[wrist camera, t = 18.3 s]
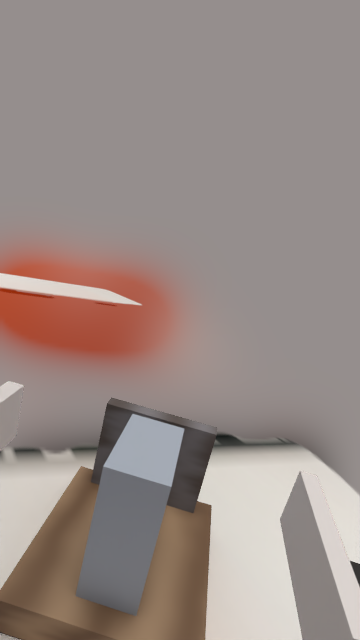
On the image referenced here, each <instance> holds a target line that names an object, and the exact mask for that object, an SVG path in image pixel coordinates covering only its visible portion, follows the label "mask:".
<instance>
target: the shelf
mask: <svg viewBox="0 0 360 640" xmlns="http://www.w3.org/2000/svg"><path fill="white" fill-rule="evenodd" d="M132 414H135V415H139V416H142V417H146V418H149V419H153V420H156V421H160V422H163V423H167V424H170V425H174V426H177V427H181V428H184V433H183V437H182V442H181V446H180V451H179V455H178V459H177V464H176V468H175V473H174V477H173V482H172V486H171V490H170V494H169V497H168V501H167V505H166V508H165V512H164V516H163V519H162V523H161V527H160V530H159V534H158V538H157V541H156V545H155V549H154V552H153V556H152V560H151V563H150V567H149V571H148V574H147V578H146V582H145V586H144V589H143V593H142V597H141V600H140V604H139V608H138V611H137V615H136V616H134V615H131V614H128V613H125V612H122V611H119V610H116V609H113V608H110V607H107V606H104V605H101V604H98V603H95V602H92V601H89V600H86V599H83V598H80V597H77V596H76V591H77V586H78V582H79V577H80V572H81V568H82V563H83V558H84V554H85V549H86V544H87V540H88V535H89V531H90V526H91V521H92V517H93V512H94V507H95V503H96V498H97V493H98V489H99V484H100V479H101V475H102V470H103V466H104V464H105V462H106V461H107V459H108V457H109V455H110V453H111V452H112V450H113V448H114V446H115V444H116V443H117V441H118V439H119V437H120V436H121V434H122V432H123V430H124V428H125V427H126V425H127V423H128V421H129V419H130V418H131V416H132ZM216 435H217V427H213V426H210V425H206V424H202V423H199V422H195V421H192V420H189V419H185V418H182V417H178V416H175V415H171V414H167V413H164V412H160V411H157V410H153V409H149V408H146V407H143V406H139V405H136V404H132V403H129V402H125V401H121V400H118V399H114V398H111V399H110V400H109V402H108V403H107V407H106V411H105V416H104V421H103V426H102V431H101V435H100V440H99V445H98V450H97V455H96V459H95V464H94V469H93V470H92V469H88V468H85V467H82V466H81V467H80V469H79V470H78V472H77V473H76V475H75V477H74V478H73V480H72V481H71V483H70V484H69V486H68V487H67V489H66V490H65V492H64V493H63V495H62V496H61V498H60V500H59V501H58V503H57V504H56V506H55V507H54V509H53V510H52V512H51V513H50V515H49V516H48V518H47V519H46V521H45V522H44V524H43V526H42V527H41V529H40V530H39V532H38V533H37V535H36V536H35V538H34V539H33V541H32V542H31V544H30V545H29V547H28V549H27V550H26V552H25V553H24V555H23V556H22V558H21V559H20V561H19V562H18V564H17V565H16V567H15V568H14V570H13V571H12V573H11V575H10V576H9V578H8V579H7V581H6V582H5V584H4V585H3V587H2V588H1V590H0V632H1V633H4V634H7V635H10V636H13V637H16V638H19V639H22V640H205V629H206V608H207V588H208V567H209V546H210V525H211V505H208V504H205V503H201V502H198V501H197V499H198V496H199V492H200V489H201V486H202V482H203V479H204V475H205V472H206V469H207V465H208V462H209V459H210V455H211V452H212V448H213V445H214V442H215V438H216Z"/></svg>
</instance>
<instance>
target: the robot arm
mask: <svg viewBox="0 0 360 640" xmlns="http://www.w3.org/2000/svg"><path fill="white" fill-rule="evenodd" d="M23 390H24V385H21V384H18V383H14V382H11V381H8V382H7V383H5V384H3V385H2V386H1V387H0V451H1V450H2V449H3V448H4V447H5V446H6V445H7V444H8V443H9V442H10V441H11V440H12V439H13V438H15V437H16V436H17V430H18V423H19V416H20V410H21V403H22V396H23ZM280 522H281V527H282V532H283V538H284V543H285V548H286V554H287V559H288V564H289V569H290V575H291V580H292V585H293V591H294V596H295V601H296V607H297V612H298V617H299V622H300V628H301V633H302V638H303V640H360V564H358V563H355V562H352V561H349V558H348V555H347V553H346V550H345V547H344V545H343V542H342V539H341V537H340V534H339V532H338V529H337V526H336V524H335V521H334V518H333V516H332V513H331V511H330V508H329V505H328V503H327V500H326V497H325V495H324V492H323V489H322V487H321V484H320V482H319V479H318V476H317V475H313V474H310V473H307V472H304V471H300V472H299V475H298V477H297V479H296V482H295V484H294V487H293V489H292V492H291V494H290V496H289V499H288V501H287V504H286V506H285V509H284V511H283V513H282V516H281V518H280Z"/></svg>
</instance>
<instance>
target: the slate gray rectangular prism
mask: <svg viewBox="0 0 360 640" xmlns="http://www.w3.org/2000/svg"><path fill="white" fill-rule="evenodd" d="M183 433H184V428H181V427H177V426H174V425H170V424H167V423H163V422H160V421H156V420H153V419H149V418H146V417H142V416H139V415H135V414H132V416H131V418H130V419H129V421H128V423H127V425H126V427H125V428H124V430H123V432H122V434H121V436H120V437H119V439H118V441H117V443H116V444H115V446H114V448H113V450H112V452H111V453H110V455H109V457H108V459H107V461H106V462H105V464H104V466H103V470H102V475H101V479H100V484H99V489H98V493H97V498H96V503H95V507H94V512H93V517H92V521H91V526H90V531H89V535H88V540H87V544H86V549H85V554H84V558H83V563H82V568H81V572H80V577H79V582H78V586H77V591H76V596H77V597H80V598H83V599H86V600H89V601H92V602H95V603H98V604H101V605H104V606H107V607H110V608H113V609H116V610H119V611H122V612H125V613H128V614H131V615H134V616H136V615H137V611H138V608H139V604H140V600H141V597H142V593H143V589H144V586H145V582H146V578H147V574H148V571H149V567H150V563H151V560H152V556H153V552H154V549H155V545H156V541H157V538H158V534H159V530H160V527H161V523H162V519H163V516H164V512H165V508H166V505H167V501H168V497H169V494H170V490H171V486H172V482H173V477H174V473H175V468H176V464H177V459H178V455H179V451H180V446H181V442H182V437H183Z"/></svg>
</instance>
